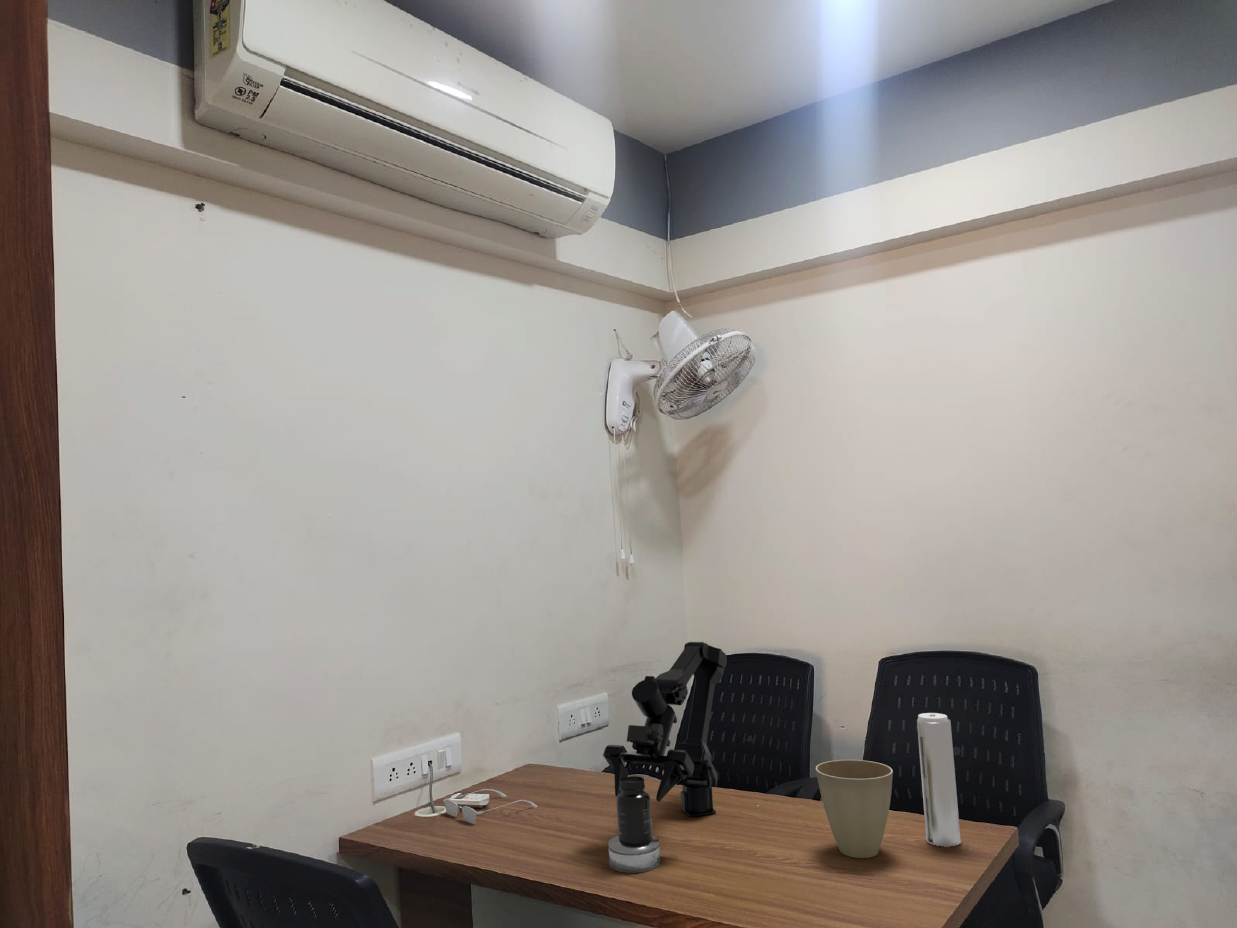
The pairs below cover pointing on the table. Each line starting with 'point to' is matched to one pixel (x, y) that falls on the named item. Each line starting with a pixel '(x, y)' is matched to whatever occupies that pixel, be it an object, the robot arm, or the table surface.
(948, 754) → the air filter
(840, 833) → the plant pot
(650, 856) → the grey short cylinder
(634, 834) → the supplement bottle
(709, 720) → the robot arm
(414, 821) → the table surface
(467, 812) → the eyeglasses
